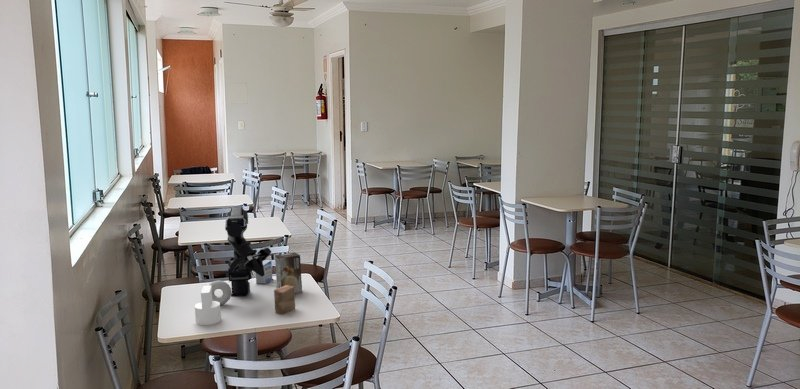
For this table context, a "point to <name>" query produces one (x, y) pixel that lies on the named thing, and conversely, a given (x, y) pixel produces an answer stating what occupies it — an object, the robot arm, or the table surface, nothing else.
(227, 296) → the donut
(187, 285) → the table surface
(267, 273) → the medicine box
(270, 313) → the table surface
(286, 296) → the walnut block
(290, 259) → the coffee box
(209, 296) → the base with upright slab
